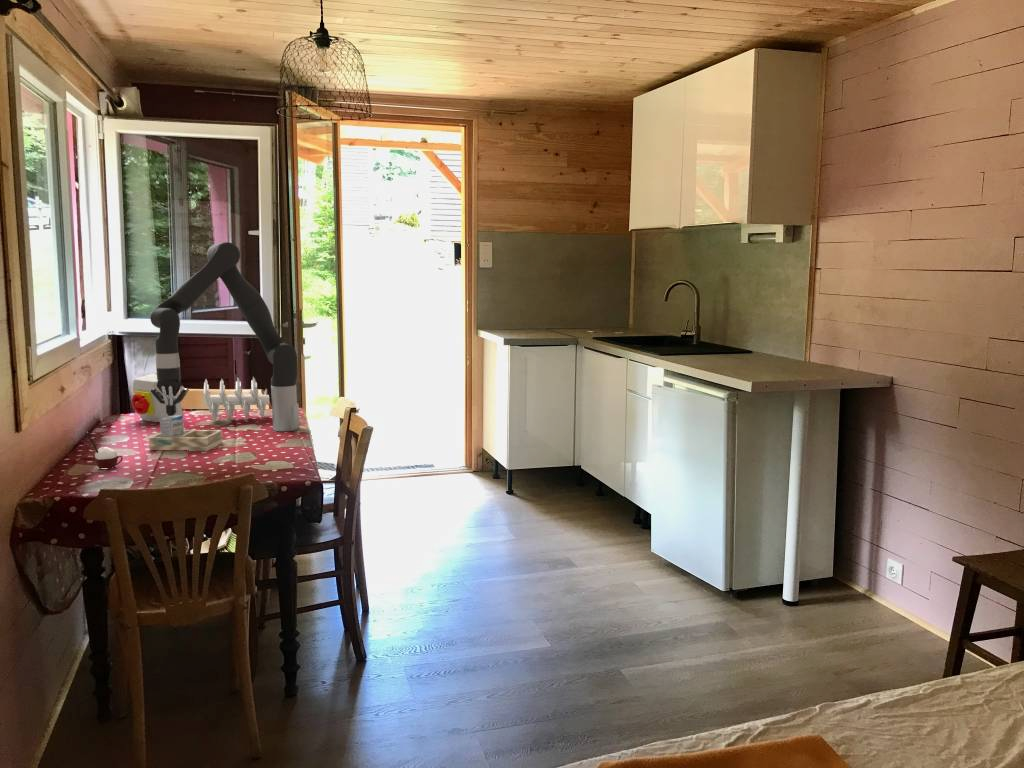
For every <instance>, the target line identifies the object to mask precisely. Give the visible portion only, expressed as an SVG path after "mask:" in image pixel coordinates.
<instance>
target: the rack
mask: <svg viewBox="0 0 1024 768" xmlns="http://www.w3.org/2000/svg"><path fill="white" fill-rule="evenodd" d="M148 442H149V443H148V444H149V451H150V450H187V451H186V452H208V451H210V450H212V449H213V448H215V447H217V446H219V445H220V444H223V430H222V429H221V430H220V429H219V430H218V429H217V430H216V429H201V430H200V429H184V434H183V435H181V436H179V437H161V432H159V433H156V434H154V435H151V436H150V437H148ZM188 450H189V451H188Z"/></svg>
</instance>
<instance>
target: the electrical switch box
mask: <svg viewBox="0 0 1024 768" xmlns="http://www.w3.org/2000/svg"><path fill="white" fill-rule="evenodd" d="M157 382H158V380H157V372H153V373H150V374H146V375H143V376H139V377H137V378H134V379H133V381H132V391H133V395H132V398H131V404H132V407H133V410H134V411H135V412H136V413H137V414H138V415H139V417H140V418H141V420H142V421H145V422H151V421H152V423H157V422H160V420H161V419H163V418H166V417H169V416H168V414H167V413H166V405H165V404H163V403H162V404H161V403H160V402H159V401H158V400H157V398H156V397H155V396H154V395H153V394H152V392H151V390H152V389H154V388H155V387H156V386H157ZM160 393H161V391H160ZM161 394H162V393H161ZM179 394H180V391H179V392H178V393H177V397H178V396H179ZM162 395H163V394H162ZM176 399H177V398H176ZM175 415H182V416H183V417H184V410H183V407H182V401H181V402H180V403H177V404H176V414H175Z"/></svg>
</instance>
